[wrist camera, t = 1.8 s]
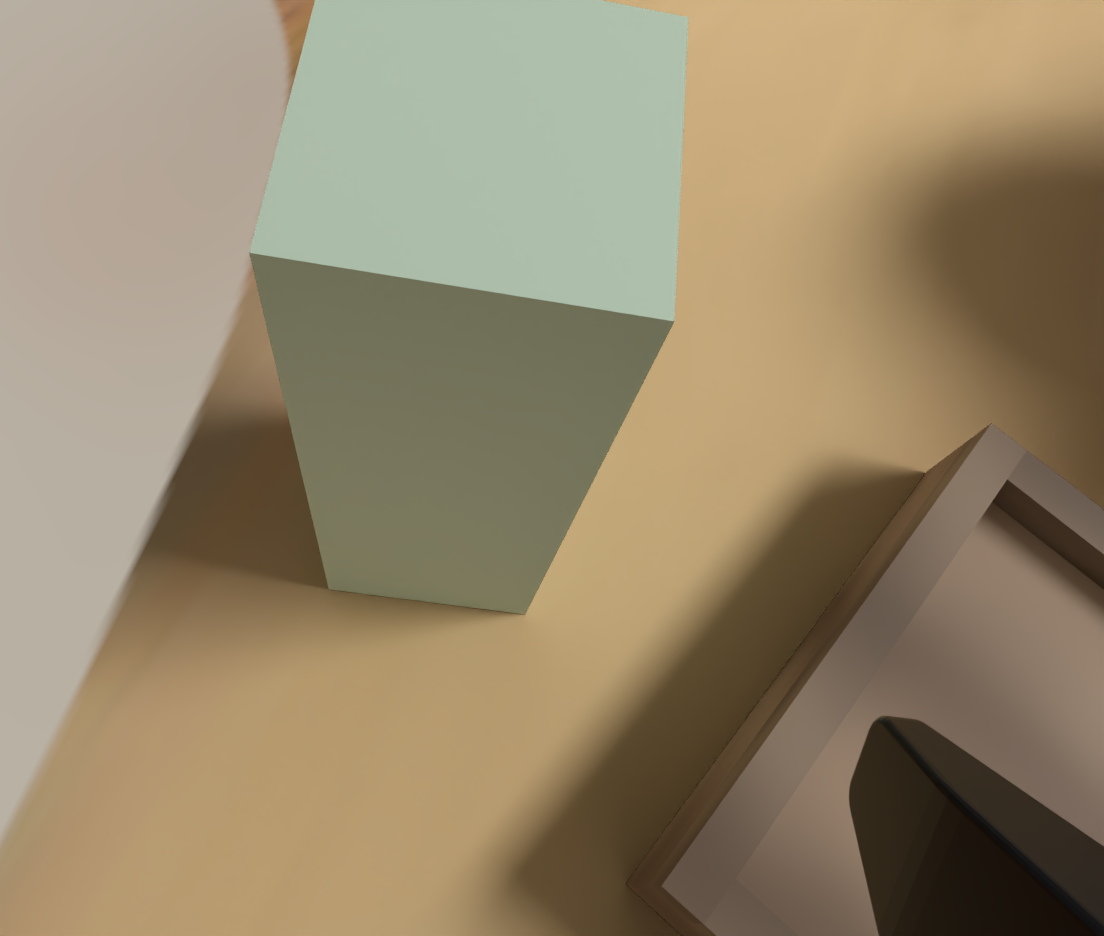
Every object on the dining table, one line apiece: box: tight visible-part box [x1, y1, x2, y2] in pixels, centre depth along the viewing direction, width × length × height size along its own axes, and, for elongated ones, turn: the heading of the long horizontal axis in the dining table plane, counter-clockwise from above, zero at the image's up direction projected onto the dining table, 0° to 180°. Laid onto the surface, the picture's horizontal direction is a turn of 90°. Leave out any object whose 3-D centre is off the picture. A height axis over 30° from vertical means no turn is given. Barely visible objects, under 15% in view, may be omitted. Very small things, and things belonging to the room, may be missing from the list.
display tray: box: [626, 423, 1104, 936], centre depth 20 cm, size 13×13×3 cm
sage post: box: [249, 0, 688, 614], centre depth 17 cm, size 4×4×13 cm
